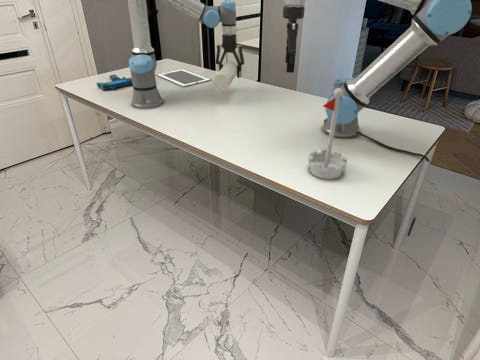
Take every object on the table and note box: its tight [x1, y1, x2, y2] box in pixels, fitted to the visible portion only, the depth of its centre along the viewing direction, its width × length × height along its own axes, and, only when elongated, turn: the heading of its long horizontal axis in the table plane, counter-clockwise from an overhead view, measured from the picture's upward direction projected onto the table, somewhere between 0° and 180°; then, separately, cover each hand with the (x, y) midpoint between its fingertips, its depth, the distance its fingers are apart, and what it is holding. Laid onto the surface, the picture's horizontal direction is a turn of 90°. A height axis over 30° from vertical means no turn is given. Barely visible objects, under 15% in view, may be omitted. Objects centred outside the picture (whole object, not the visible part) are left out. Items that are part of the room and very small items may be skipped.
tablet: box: [156, 68, 212, 88], centre depth 217 cm, size 32×20×1 cm, turn 41°
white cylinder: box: [212, 60, 238, 92], centre depth 181 cm, size 26×8×8 cm, turn 170°
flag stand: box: [307, 88, 348, 180], centre depth 113 cm, size 13×13×30 cm
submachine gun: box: [95, 74, 133, 91], centre depth 209 cm, size 34×4×25 cm
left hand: (230, 76), depth 191 cm, fingers closed on white cylinder, 8 cm apart
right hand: (289, 67), depth 131 cm, fingers open, 13 cm apart
